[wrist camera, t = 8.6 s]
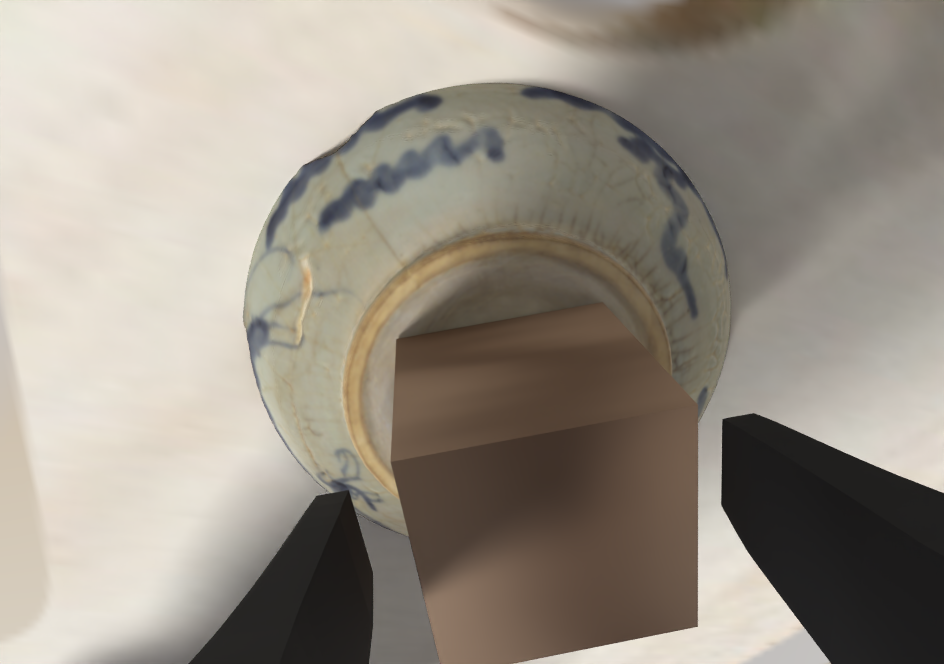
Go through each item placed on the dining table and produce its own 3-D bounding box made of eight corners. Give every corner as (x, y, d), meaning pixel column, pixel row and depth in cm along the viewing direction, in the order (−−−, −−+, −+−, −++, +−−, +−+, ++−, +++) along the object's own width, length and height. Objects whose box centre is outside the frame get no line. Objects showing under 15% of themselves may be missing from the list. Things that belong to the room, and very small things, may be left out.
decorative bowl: (340, -32, 14) (180, 466, 18) (321, -75, 11) (130, 548, 15) (816, 211, 18) (587, 578, 22) (915, 238, 14) (622, 665, 19)
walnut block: (433, 506, 16) (443, 676, 11) (396, 338, 14) (390, 462, 9) (613, 472, 16) (697, 626, 11) (602, 302, 14) (697, 404, 9)
